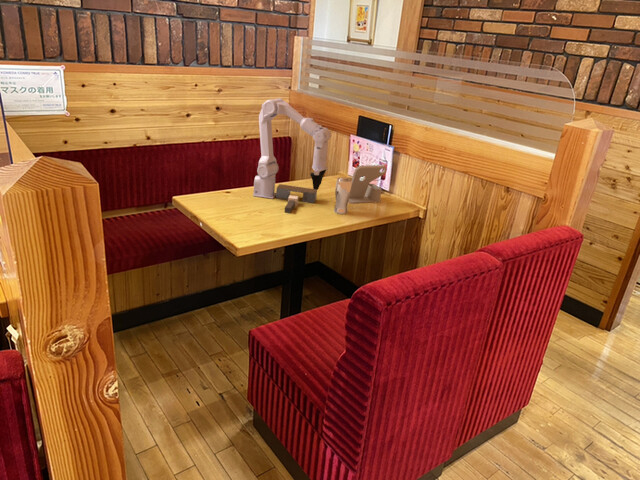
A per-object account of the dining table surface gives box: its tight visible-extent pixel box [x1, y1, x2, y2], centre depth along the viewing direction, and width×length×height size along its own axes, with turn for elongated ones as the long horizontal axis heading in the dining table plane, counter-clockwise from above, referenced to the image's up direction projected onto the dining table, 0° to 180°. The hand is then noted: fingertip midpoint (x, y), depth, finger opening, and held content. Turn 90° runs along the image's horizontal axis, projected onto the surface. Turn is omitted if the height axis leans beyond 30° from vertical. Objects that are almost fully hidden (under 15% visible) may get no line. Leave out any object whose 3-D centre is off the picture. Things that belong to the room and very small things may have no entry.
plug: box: [284, 194, 299, 214], centre depth 218 cm, size 4×14×4 cm, turn 172°
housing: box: [275, 183, 318, 204], centre depth 230 cm, size 18×6×5 cm, turn 82°
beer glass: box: [333, 176, 352, 215], centre depth 218 cm, size 7×7×15 cm
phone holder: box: [348, 164, 388, 205], centre depth 236 cm, size 17×10×18 cm, turn 115°
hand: (317, 186), depth 219 cm, fingers open, 7 cm apart
